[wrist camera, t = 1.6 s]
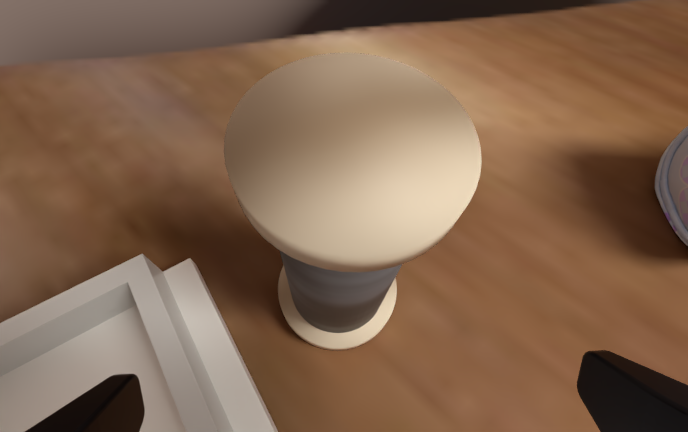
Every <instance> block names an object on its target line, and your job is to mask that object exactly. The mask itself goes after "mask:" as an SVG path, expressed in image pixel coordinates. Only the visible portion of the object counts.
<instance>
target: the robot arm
mask: <svg viewBox="0 0 688 432" xmlns="http://www.w3.org/2000/svg"><path fill="white" fill-rule="evenodd" d="M577 389H578V393H579V395H580V397H581V399H582V401H583V402H584V404H585V406H586V408H587V409H588V411H589V413H590V414H591V416H592V418H593V419H594V421H595V423H596V425H597V426H598V428H599V430H600V431H601V432H688V385H686V384H684V383H681V382H679V381H677V380H674V379H672V378H670V377H667V376H665V375H663V374H661V373H658V372H656V371H654V370H651V369H649V368H647V367H644V366H642V365H640V364H638V363H635V362H633V361H631V360H628V359H626V358H624V357H621V356H619V355H617V354H615V353H612V352H610V351H606V350H599V351H588V352H586V353H585V354H584V355H583V358H582V363H581V367H580V371H579V376H578V380H577ZM144 414H145V408H144V402H143V397H142V392H141V387H140V382H139V378H138V377H137V375H135V374H116V375H112V376H110V377H108V378H107V379H105V380H104V381H102V382H101V383H99V384H98V385H96V386H94V387H93V388H91V389H90V390H88V391H87V392H85V393H84V394H82V395H81V396H79V397H77V398H76V399H74V400H73V401H71V402H70V403H68V404H67V405H65V406H64V407H62V408H60V409H59V410H57V411H56V412H54V413H53V414H51V415H50V416H48V417H47V418H45V419H43V420H42V421H40V422H39V423H37V424H36V425H34V426H33V427H31V428H30V429H28V430H26V431H25V432H139V431H140V429H141V426H142V423H143V419H144Z"/></svg>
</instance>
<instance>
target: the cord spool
mask: <svg viewBox="0 0 688 432" xmlns="http://www.w3.org/2000/svg"><path fill="white" fill-rule="evenodd" d="M224 157H225V165H226V169H227V172H228V176H229V179H230V182H231V184H232V187H233V189H234V192H235V194H236V197H237V199H238V202H239V204H240V206H241V208H242V210H243V212H244V214H245V216H246V217H247V219H248V220H249V221H250V223H251V224H252V226H253V227H254V228H255V229H256V230H257V231H258V232H259V234H260V235H261V236H262V237H263V238H264V239H265V240H267V241H268V242H269V243H270V244H272V245H273V246H274V247H276V248H277V249H278V250H280V254H281V258H282V261H283V267H282V270H281V272H280V276H279V281H278V297H279V303H280V306H281V309H282V312H283V314H284V317H285V319H286V321H287V323H288V324H289V326H290V327H291V329H292V330H293V331H294V332H295V333H296V334H297V335H298V336H299V337H300V338H301V339H303V340H304V341H306V342H307V343H309V344H311V345H313V346H315V347H318V348H322V349H326V350H332V351H341V350H349V349H352V348H356V347H358V346H361V345H363V344H365V343H366V342H368V341H370V340H371V339H372V338H374V337H375V336H376V335H377V334H378V333H379V332H380V331H381V329H382V328H383V327H384V325H385V324H386V322H387V321H388V319H389V318H390V316H391V314H392V311H393V309H394V306H395V301H396V293H397V288H396V279H395V277H396V275H397V273H398V271H399V269H400V267H401V266H402V264H404V263H406V262H409V261H411V260H413V259H415V258H417V257H419V256H421V255H422V254H424V253H426V252H427V251H428V250H430V249H431V248H432V247H434V246H435V245H437V244H438V243H439V242H440V241H441V240H442V239H443V238H444V237H445V236H446V235H447V234H448V232H449V231H450V229H451V228H452V227H453V225H454V224H455V223H456V221H457V220H458V218H459V217H460V215H461V214H462V212H463V211H464V209H465V208H466V207H467V205H468V204H469V202H470V200H471V198H472V196H473V194H474V192H475V190H476V187H477V184H478V181H479V177H480V171H481V148H480V143H479V138H478V135H477V132H476V129H475V127H474V124H473V122H472V121H471V119H470V117H469V115H468V113H467V112H466V110H465V109H464V108H463V106H462V105H461V103H460V102H459V101H458V100H457V99H456V98H455V97H454V96H453V95H452V94H451V92H450V91H448V90H447V89H446V88H445V87H444V86H442V85H441V84H440V83H439V82H437V81H436V80H434V79H433V78H431V77H430V76H429V75H427V74H425V73H423V72H421V71H420V70H418V69H416V68H414V67H411V66H409V65H407V64H404V63H402V62H398V61H395V60H392V59H389V58H385V57H381V56H376V55H369V54H362V53H330V54H322V55H316V56H312V57H307V58H303V59H300V60H297V61H294V62H291V63H289V64H287V65H284V66H282V67H280V68H278V69H276V70H275V71H273V72H271V73H269V74H268V75H266V76H265V77H263V78H262V79H261V80H259V81H258V82H257V83H256V84H255V85H254V86H253V87H251V88H250V89H249V90H248V91H247V92H246V94H245V95H244V96H243V97H242V99H241V100H240V101H239V103H238V104H237V106H236V108H235V109H234V111H233V113H232V115H231V117H230V120H229V123H228V125H227V129H226V134H225V138H224Z"/></svg>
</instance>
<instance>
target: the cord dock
mask: <svg viewBox="0 0 688 432" xmlns="http://www.w3.org/2000/svg"><path fill="white" fill-rule="evenodd" d="M116 374H135V375H137V377H138V378H139V382H140V387H141V392H142V397H143V402H144V408H145V414H144V419H143V423H142V426H141V429H140V431H139V432H278V430H277V428H276V426H275V424H274V422H273V420H272V418H271V416H270V414H269V412H268V410H267V408H266V406H265V404H264V402H263V400H262V398H261V396H260V394H259V391H258V389H257V387H256V385H255V383H254V381H253V379H252V377H251V375H250V373H249V371H248V369H247V367H246V365H245V363H244V361H243V359H242V357H241V355H240V353H239V351H238V349H237V347H236V345H235V343H234V340H233V338H232V336H231V334H230V332H229V330H228V328H227V326H226V324H225V322H224V320H223V318H222V316H221V314H220V312H219V310H218V308H217V306H216V304H215V302H214V300H213V298H212V296H211V294H210V292H209V289H208V287H207V285H206V283H205V281H204V279H203V277H202V275H201V273H200V271H199V269H198V267H197V265H196V264H195V263H194V262H193V261H192V259H191V258H189V259H187V260H185V261H183V262H181V263H179V264H177V265H175V266H173V267H171V268H169V269H167V270H165V271H161V270H160V269H159V268H158V267H157V266H156V265H155V264H154V263H152V262H151V261H150V260H149V259H148V258H147V257H146V256H145V255H143V254H140V255H138V256H136V257H134V258H132V259H130V260H128V261H126V262H124V263H122V264H120V265H118V266H116V267H114V268H112V269H110V270H108V271H106V272H104V273H102V274H99V275H97V276H95V277H93V278H91V279H89V280H87V281H85V282H83V283H81V284H79V285H77V286H75V287H73V288H71V289H69V290H67V291H65V292H63V293H61V294H59V295H57V296H54V297H52V298H50V299H48V300H46V301H44V302H42V303H40V304H38V305H36V306H34V307H32V308H30V309H28V310H26V311H24V312H22V313H20V314H18V315H16V316H14V317H12V318H9V319H7V320H5V321H3V322H1V323H0V432H25V431H26V430H28V429H30V428H31V427H33V426H34V425H36V424H37V423H39V422H40V421H42V420H43V419H45V418H47V417H48V416H50V415H51V414H53V413H54V412H56V411H57V410H59V409H60V408H62V407H64V406H65V405H67V404H68V403H70V402H71V401H73V400H74V399H76V398H77V397H79V396H81V395H82V394H84V393H85V392H87V391H88V390H90V389H91V388H93V387H94V386H96V385H98V384H99V383H101V382H102V381H104V380H105V379H107V378H108V377H110V376H112V375H116Z"/></svg>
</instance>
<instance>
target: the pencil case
mask: <svg viewBox="0 0 688 432" xmlns="http://www.w3.org/2000/svg"><path fill="white" fill-rule="evenodd" d="M655 191H656V195H657V198H658V200H659V202H660V205H661V207H662V209H663V212H664V214H665V216H666V218H667V220H668V221H669V223H670V225H671V226H672V228H673V230H674V231H675V233H676V234H677V235H678V237H679V238H680V239H681V240H682V241H683V242H684V243H685V244H686V245H687V246H688V126H687V127H686V128H685V129H683V130H682V131H681V133H680V134H679V135H678V136H677V137H676V138H675V139H674V140H673V141H672V142H671V144H670V145H669V146H668V147H667V149H666V150H665V152H664V154H663V155H662V157H661V159H660V162H659V165H658V169H657V172H656V176H655Z"/></svg>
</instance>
